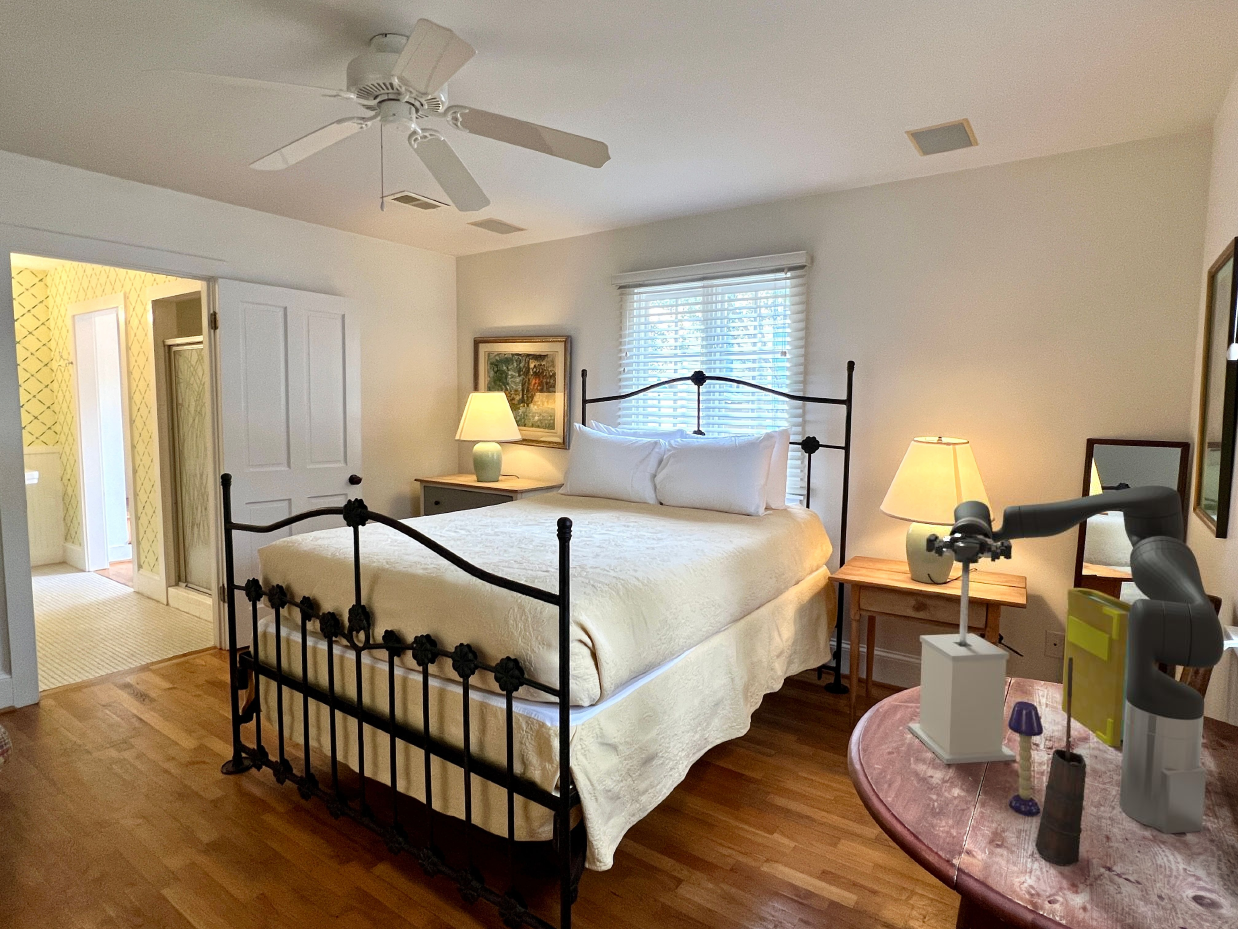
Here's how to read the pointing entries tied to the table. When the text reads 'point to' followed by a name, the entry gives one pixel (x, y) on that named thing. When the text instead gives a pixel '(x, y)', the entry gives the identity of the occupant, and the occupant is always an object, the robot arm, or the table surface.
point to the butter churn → (1063, 800)
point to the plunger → (965, 581)
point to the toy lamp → (1025, 755)
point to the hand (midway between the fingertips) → (966, 553)
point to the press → (962, 699)
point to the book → (1097, 662)
